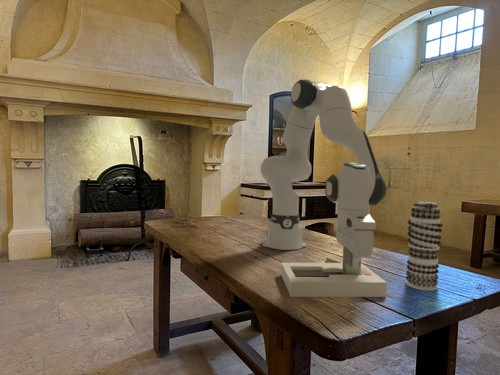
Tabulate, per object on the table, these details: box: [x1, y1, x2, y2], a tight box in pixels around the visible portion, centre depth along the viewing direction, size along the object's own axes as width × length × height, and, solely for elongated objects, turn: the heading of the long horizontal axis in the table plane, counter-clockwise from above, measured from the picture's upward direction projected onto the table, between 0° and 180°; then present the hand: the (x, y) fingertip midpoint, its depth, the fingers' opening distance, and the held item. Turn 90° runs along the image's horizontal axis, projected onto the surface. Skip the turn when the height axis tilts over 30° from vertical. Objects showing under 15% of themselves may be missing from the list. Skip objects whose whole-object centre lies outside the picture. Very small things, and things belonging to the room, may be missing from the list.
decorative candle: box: [405, 201, 444, 292], centre depth 100 cm, size 9×9×25 cm
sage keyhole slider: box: [334, 246, 362, 275], centre depth 99 cm, size 8×8×10 cm
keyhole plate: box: [280, 262, 388, 298], centre depth 99 cm, size 18×26×4 cm
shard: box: [324, 257, 341, 263], centre depth 119 cm, size 11×8×2 cm
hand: (351, 264), depth 99 cm, fingers closed on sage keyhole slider, 4 cm apart
